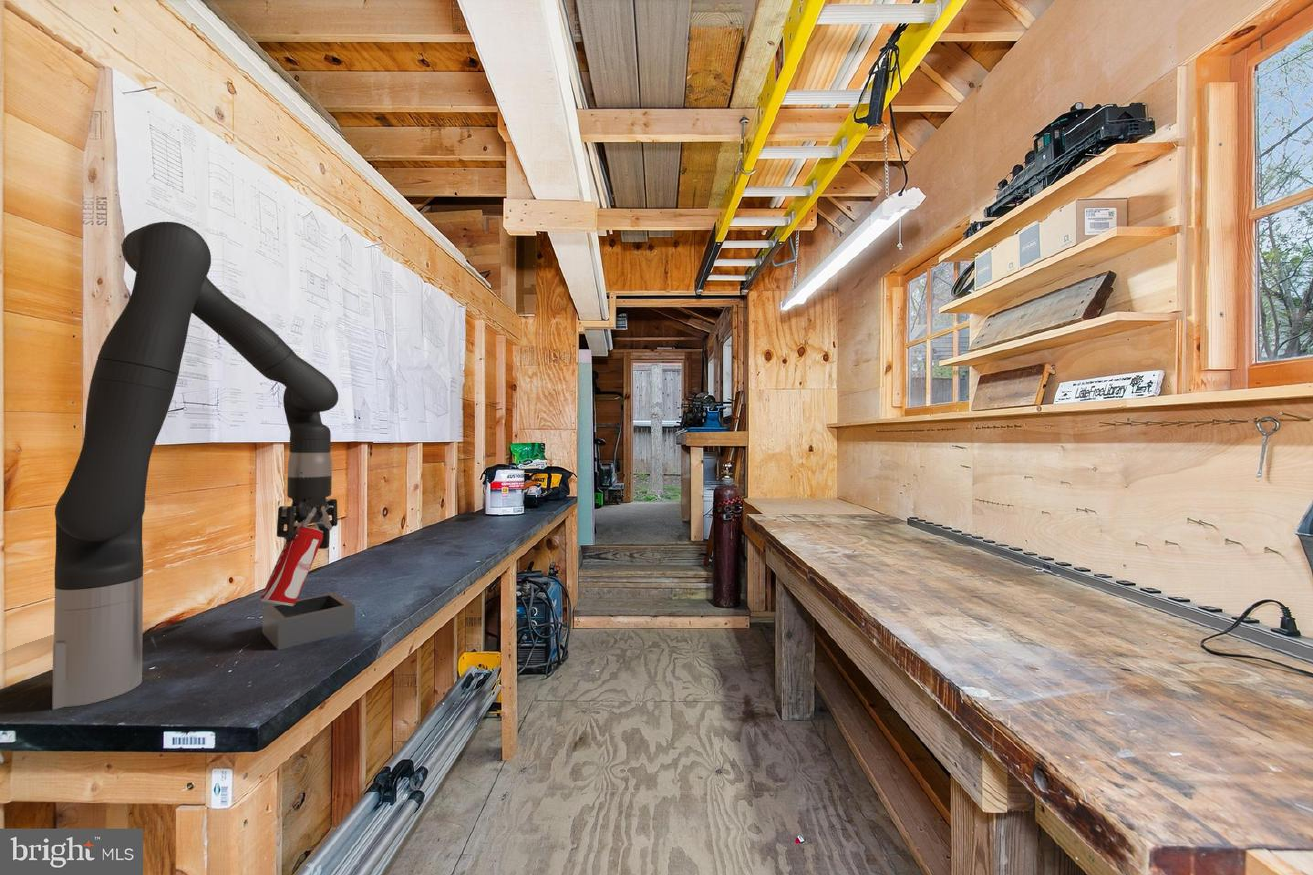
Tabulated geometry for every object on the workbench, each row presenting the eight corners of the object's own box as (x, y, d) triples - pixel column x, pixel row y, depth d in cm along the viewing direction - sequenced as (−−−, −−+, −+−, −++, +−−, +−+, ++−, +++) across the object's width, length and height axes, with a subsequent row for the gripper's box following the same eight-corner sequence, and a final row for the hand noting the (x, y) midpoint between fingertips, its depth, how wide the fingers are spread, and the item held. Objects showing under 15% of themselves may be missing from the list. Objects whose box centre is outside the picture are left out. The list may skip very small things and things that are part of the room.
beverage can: (256, 602, 96) (285, 525, 102) (295, 606, 100) (321, 532, 106) (261, 602, 92) (291, 522, 98) (302, 606, 96) (328, 529, 102)
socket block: (277, 653, 94) (278, 621, 94) (262, 635, 103) (262, 606, 103) (354, 633, 104) (354, 605, 104) (334, 618, 113) (334, 592, 113)
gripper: (302, 477, 97) (301, 561, 96) (349, 472, 111) (348, 545, 111) (264, 476, 97) (263, 560, 97) (316, 472, 111) (315, 545, 111)
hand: (308, 552), depth 104 cm, fingers open, 8 cm apart
